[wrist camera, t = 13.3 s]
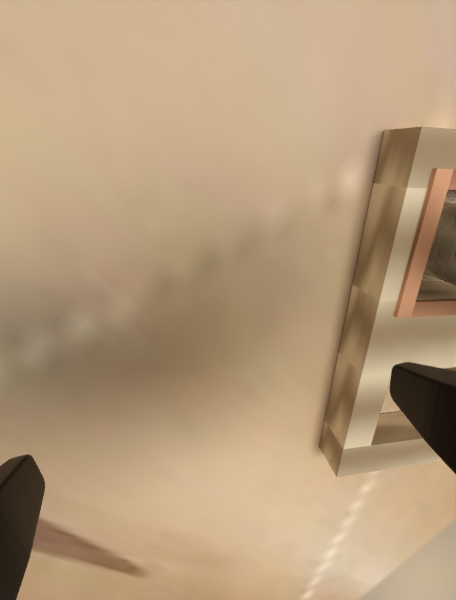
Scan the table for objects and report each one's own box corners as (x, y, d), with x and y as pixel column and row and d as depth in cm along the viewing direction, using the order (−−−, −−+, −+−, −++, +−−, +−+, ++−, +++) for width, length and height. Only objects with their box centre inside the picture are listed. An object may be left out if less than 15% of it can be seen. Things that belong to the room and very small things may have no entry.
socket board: (430, 431, 31) (460, 461, 28) (319, 446, 29) (338, 480, 26) (536, 142, 22) (598, 140, 19) (384, 130, 19) (426, 126, 16)
